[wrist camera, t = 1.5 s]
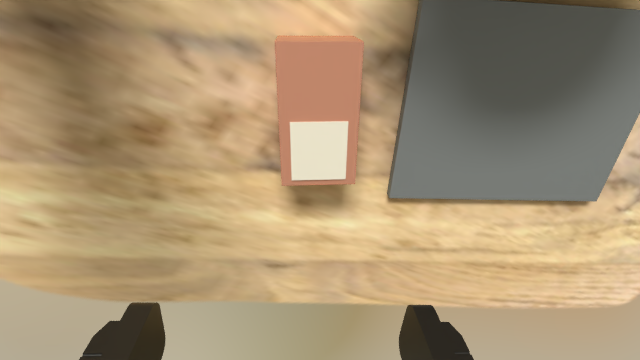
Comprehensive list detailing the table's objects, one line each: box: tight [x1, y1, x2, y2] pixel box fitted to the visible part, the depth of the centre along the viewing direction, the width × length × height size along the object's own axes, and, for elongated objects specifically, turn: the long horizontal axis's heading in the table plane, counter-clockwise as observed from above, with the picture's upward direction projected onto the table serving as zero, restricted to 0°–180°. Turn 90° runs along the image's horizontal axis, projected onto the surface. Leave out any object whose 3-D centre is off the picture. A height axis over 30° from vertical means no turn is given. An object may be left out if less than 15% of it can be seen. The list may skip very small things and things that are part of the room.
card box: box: [275, 36, 364, 186], centre depth 25 cm, size 10×6×5 cm, turn 179°
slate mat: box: [387, 0, 640, 201], centre depth 28 cm, size 16×20×1 cm
